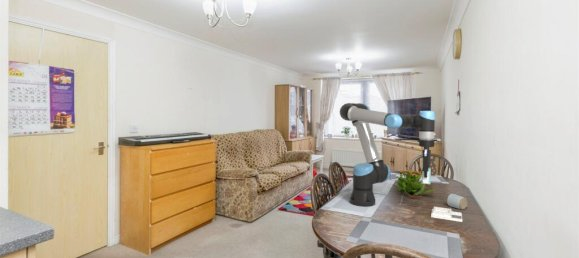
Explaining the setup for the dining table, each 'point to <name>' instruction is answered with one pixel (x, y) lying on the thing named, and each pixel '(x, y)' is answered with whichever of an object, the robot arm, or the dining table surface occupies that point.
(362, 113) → the robot arm
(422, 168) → the block
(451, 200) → the ceramic mug
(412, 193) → the potted flower
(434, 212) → the outlet plate
